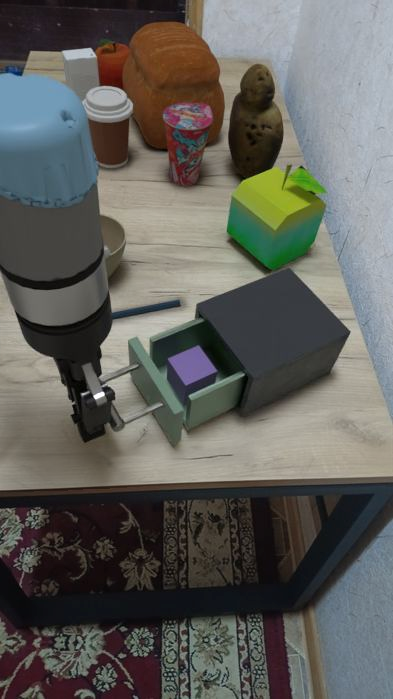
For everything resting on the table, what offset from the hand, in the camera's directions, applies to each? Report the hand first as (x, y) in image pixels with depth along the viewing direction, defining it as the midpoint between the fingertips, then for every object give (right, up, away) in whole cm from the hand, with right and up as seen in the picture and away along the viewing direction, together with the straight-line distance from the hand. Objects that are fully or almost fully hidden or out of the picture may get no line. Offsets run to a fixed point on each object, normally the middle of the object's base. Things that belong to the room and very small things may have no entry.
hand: (92, 433), depth 58 cm
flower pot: (-3, +22, +18) cm, 29 cm away
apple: (+24, +27, +25) cm, 44 cm away
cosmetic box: (-11, +59, +46) cm, 76 cm away
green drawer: (+10, +4, +5) cm, 11 cm away
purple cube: (+11, +5, +5) cm, 13 cm away
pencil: (+3, +15, +14) cm, 21 cm away
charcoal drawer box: (+21, +8, +10) cm, 25 cm away
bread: (+7, +58, +46) cm, 74 cm away
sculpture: (+22, +43, +37) cm, 61 cm away
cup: (+10, +42, +35) cm, 56 cm away
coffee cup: (-4, +46, +37) cm, 60 cm away
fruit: (-6, +70, +54) cm, 89 cm away
